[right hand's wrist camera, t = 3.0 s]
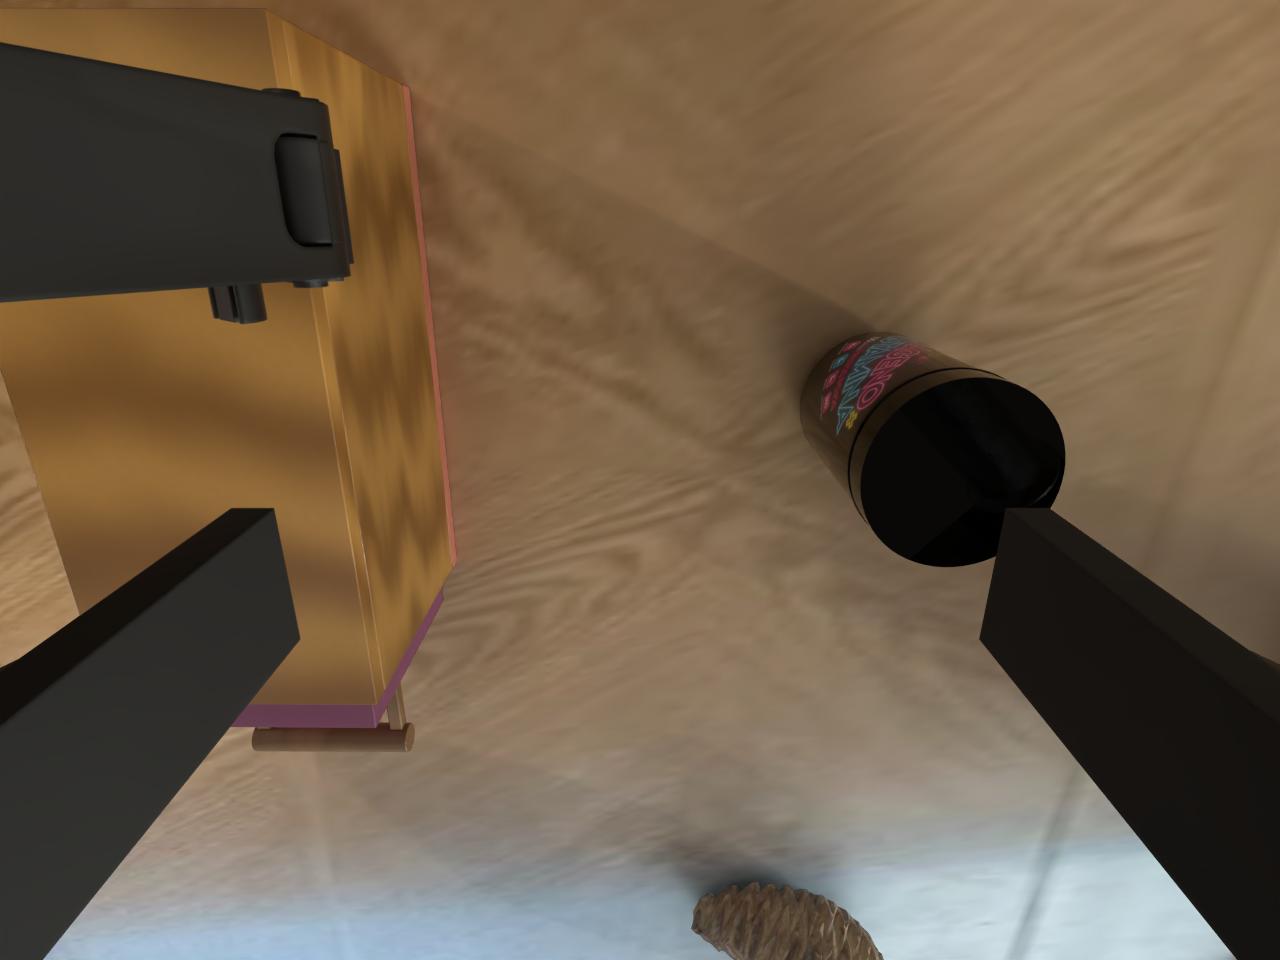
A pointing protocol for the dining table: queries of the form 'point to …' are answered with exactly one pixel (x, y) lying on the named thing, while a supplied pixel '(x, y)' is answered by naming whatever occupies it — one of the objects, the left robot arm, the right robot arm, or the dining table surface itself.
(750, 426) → the dining table surface
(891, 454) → the supplement container
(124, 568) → the cabinet
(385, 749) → the drawer
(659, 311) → the dining table surface
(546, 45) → the dining table surface
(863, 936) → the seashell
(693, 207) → the dining table surface
